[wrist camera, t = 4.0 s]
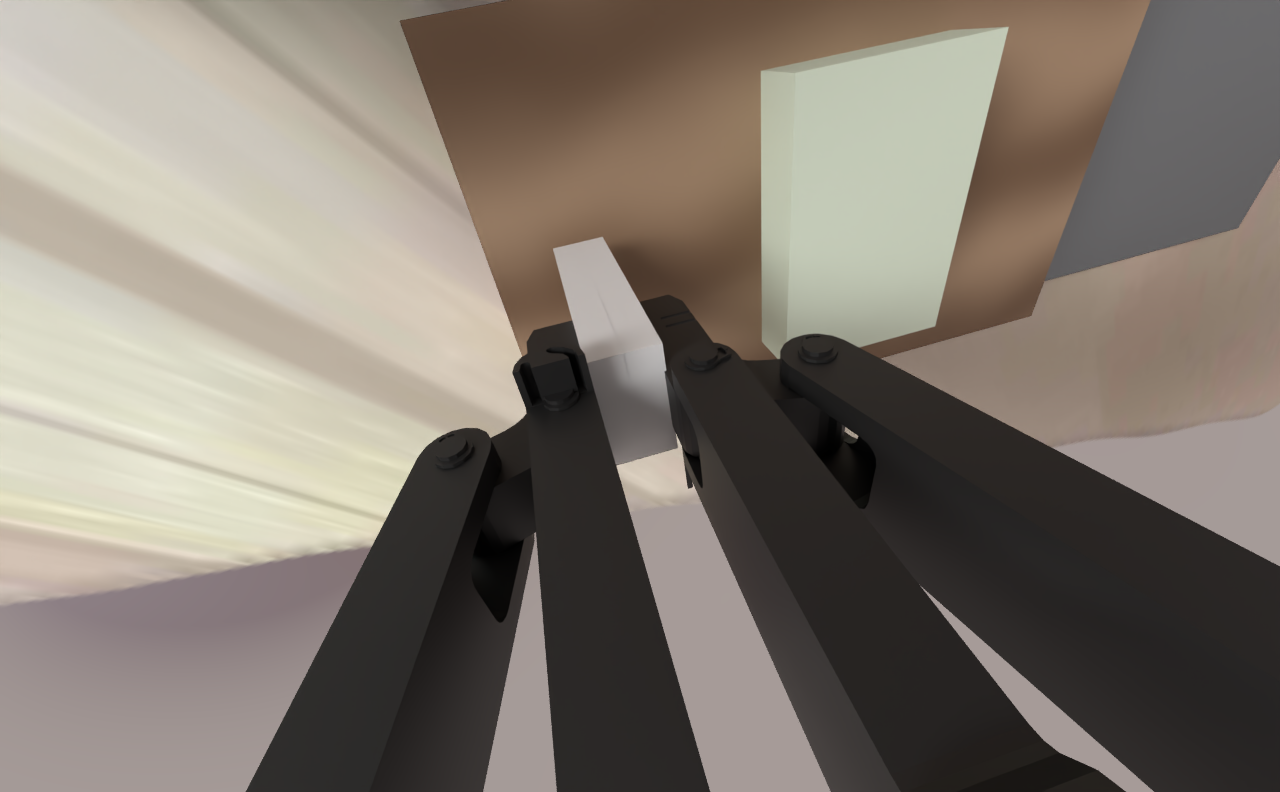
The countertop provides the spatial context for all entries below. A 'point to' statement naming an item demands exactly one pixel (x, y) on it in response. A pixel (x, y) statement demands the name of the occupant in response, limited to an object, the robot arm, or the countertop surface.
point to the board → (740, 141)
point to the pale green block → (869, 183)
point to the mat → (1181, 133)
